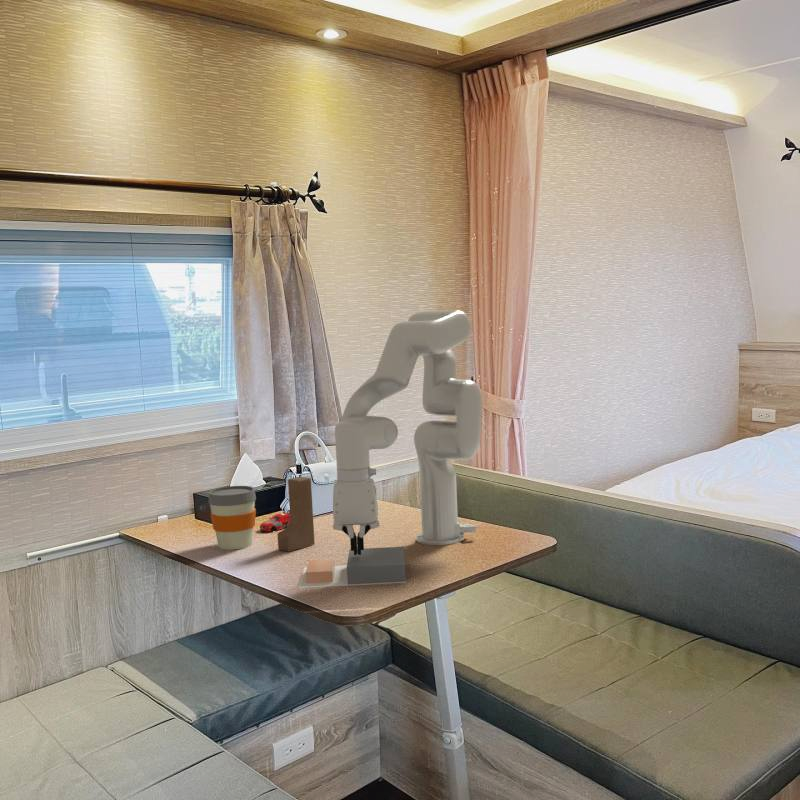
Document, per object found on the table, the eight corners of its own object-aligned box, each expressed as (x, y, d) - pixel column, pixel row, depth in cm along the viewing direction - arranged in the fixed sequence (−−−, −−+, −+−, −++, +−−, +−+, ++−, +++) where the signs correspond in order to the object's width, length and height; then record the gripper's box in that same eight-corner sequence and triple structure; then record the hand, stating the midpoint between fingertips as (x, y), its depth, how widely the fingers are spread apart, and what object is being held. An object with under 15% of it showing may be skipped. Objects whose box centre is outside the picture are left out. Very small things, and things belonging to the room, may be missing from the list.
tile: (309, 560, 194) (309, 570, 194) (305, 572, 185) (306, 583, 185) (334, 559, 194) (335, 569, 194) (332, 571, 185) (332, 581, 185)
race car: (267, 534, 231) (266, 521, 231) (256, 532, 235) (255, 518, 235) (304, 524, 241) (303, 511, 240) (292, 522, 244) (291, 509, 244)
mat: (404, 563, 197) (404, 562, 197) (406, 584, 182) (406, 582, 182) (304, 568, 197) (304, 567, 197) (298, 589, 182) (298, 587, 182)
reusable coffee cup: (261, 548, 217) (258, 492, 215) (213, 554, 213) (209, 497, 212) (256, 536, 229) (252, 483, 227) (210, 542, 225) (206, 488, 224)
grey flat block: (404, 562, 197) (403, 546, 196) (406, 581, 183) (405, 564, 182) (350, 565, 197) (349, 549, 196) (347, 584, 183) (346, 567, 182)
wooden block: (288, 552, 211) (284, 483, 210) (277, 549, 215) (273, 482, 213) (315, 544, 218) (311, 477, 216) (304, 541, 221) (300, 476, 219)
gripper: (386, 470, 191) (389, 547, 193) (321, 473, 191) (326, 550, 193) (386, 476, 184) (390, 556, 185) (319, 479, 183) (324, 559, 185)
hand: (357, 553), depth 189 cm, fingers closed
